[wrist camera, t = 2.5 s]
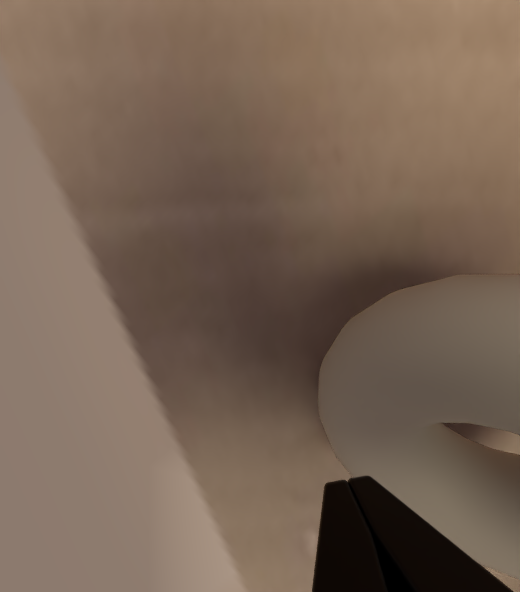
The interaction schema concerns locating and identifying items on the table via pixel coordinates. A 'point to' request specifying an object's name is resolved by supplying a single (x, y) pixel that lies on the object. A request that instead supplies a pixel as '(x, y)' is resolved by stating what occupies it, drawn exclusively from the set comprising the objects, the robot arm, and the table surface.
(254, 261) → the table surface
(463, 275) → the donut
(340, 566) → the robot arm
